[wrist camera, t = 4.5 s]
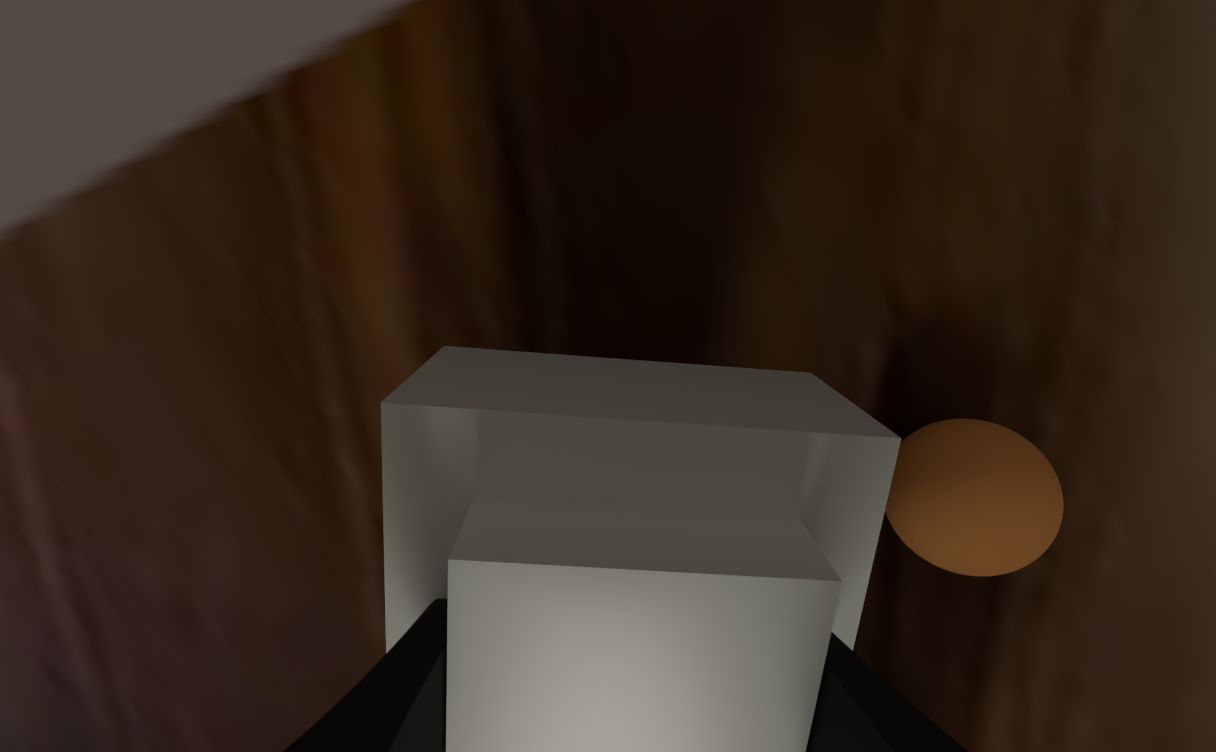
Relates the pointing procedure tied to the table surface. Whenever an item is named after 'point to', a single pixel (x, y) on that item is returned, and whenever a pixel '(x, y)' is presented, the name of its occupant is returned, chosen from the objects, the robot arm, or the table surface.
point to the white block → (629, 546)
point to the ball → (974, 497)
